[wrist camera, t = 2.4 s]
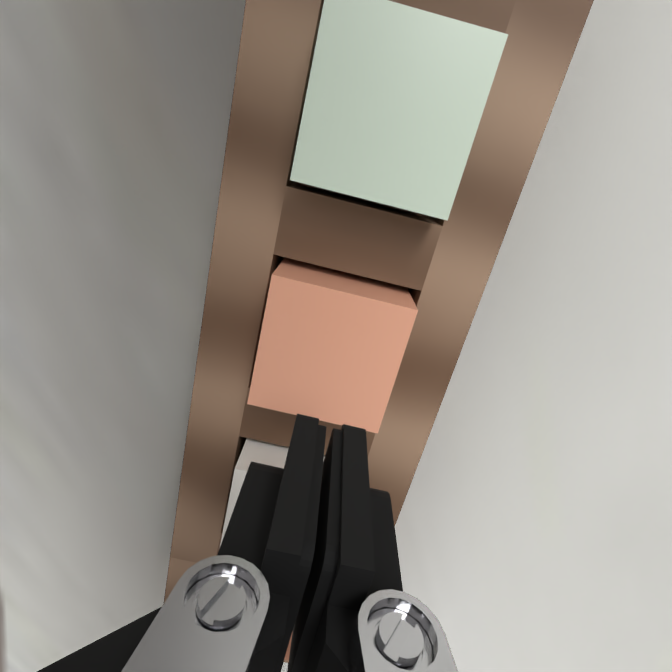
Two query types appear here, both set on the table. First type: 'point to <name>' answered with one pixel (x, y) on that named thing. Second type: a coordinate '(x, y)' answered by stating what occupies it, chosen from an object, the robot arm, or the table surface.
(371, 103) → the sage key
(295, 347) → the terracotta key
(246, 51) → the console
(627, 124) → the table surface
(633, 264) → the table surface
